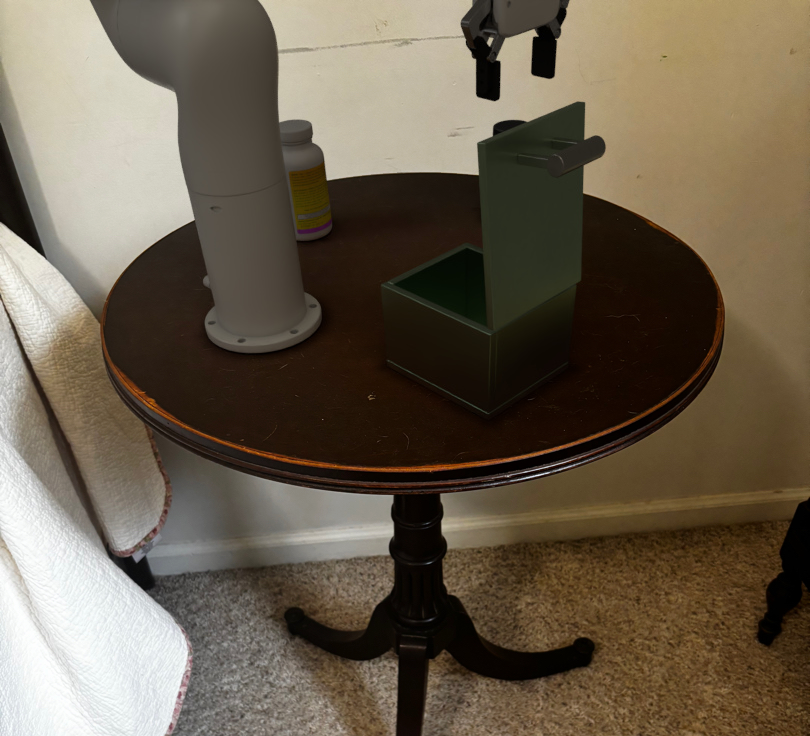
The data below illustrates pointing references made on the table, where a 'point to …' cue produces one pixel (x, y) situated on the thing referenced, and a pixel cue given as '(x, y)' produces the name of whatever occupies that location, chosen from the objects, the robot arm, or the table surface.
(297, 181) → the supplement bottle
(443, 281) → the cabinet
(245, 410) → the table surface
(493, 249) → the lid
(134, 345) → the table surface
